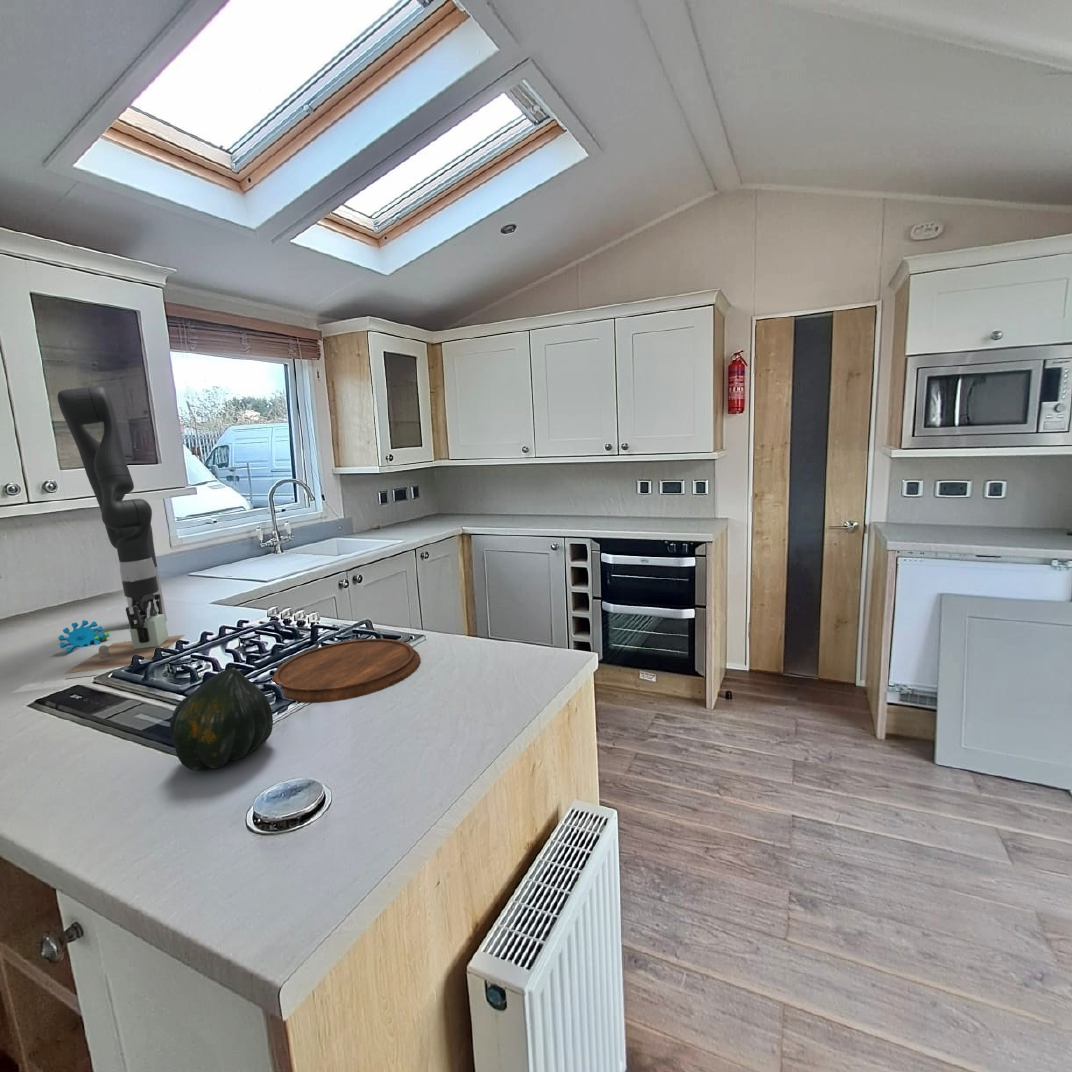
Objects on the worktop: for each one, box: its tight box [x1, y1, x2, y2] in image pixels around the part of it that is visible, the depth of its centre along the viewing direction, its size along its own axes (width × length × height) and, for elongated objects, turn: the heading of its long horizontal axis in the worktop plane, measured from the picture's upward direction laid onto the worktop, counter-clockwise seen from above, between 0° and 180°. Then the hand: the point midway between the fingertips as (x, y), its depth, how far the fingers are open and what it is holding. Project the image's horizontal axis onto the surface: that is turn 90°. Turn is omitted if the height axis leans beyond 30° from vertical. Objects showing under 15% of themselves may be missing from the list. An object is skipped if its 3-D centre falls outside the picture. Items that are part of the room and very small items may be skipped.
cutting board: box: [271, 638, 421, 704], centre depth 130 cm, size 32×32×3 cm
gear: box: [58, 619, 111, 654], centre depth 161 cm, size 11×6×10 cm
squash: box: [169, 667, 274, 771], centre depth 95 cm, size 14×15×15 cm
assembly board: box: [64, 634, 185, 680], centre depth 149 cm, size 22×18×6 cm
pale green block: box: [128, 614, 170, 649], centre depth 154 cm, size 6×6×7 cm
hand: (150, 638), depth 155 cm, fingers closed on pale green block, 6 cm apart
